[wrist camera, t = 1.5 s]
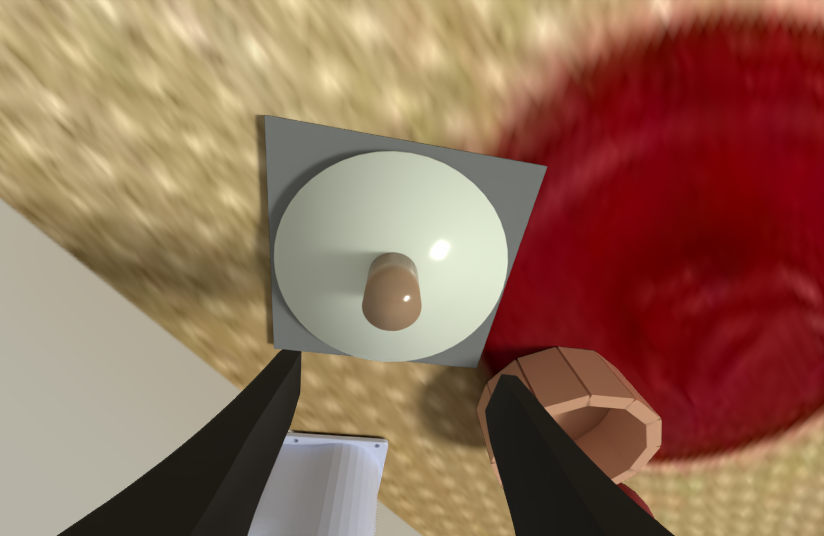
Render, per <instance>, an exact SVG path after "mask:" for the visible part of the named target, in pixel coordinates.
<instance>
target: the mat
mask: <svg viewBox="0 0 824 536" xmlns="http://www.w3.org/2000/svg"><path fill="white" fill-rule="evenodd" d="M265 140H266V164H267V189H268V213H269V238H270V262H271V286H272V311H273V335H274V349H286V350H295V351H305V352H315V353H325V354H335V355H346V356H352V355H349V354H347V353H344V352H341V351H339V350H337V349H335V348H333V347H331V346H329V345H328V344H326V343H324V342H323V341H321V340H320V339H318V338H317V337H316V336H314V335H313V334H312V333H311V332H309V331H308V330H307V329H306V328H305V327H304V326H303V325H302V324H301V323H300V322H299V320H298V319H297V318H296V317H295V315H294V314H293V313H292V311H291V310H290V308H289V306H288V305H287V303H286V301H285V300H284V297H283V295H282V293H281V290H280V288H279V285H278V281H277V277H276V273H275V265H274V245H275V240H276V234H277V230H278V227H279V224H280V222H281V219H282V216H283V214H284V213H285V211H286V209H287V207H288V205H289V204H290V202H291V201H292V200H293V198H294V197H295V196H296V194H297V193H298V192H299V190H300V189H302V188H303V187H304V186H305V185H306V184H307V183H308V182H309V181H310V180H311V179H312V178H314V177H315V176H316V175H318V174H319V173H321V172H322V171H324V170H325V169H327V168H328V167H330V166H332V165H334V164H336V163H338V162H340V161H342V160H344V159H347V158H350V157H353V156H356V155H359V154H364V153H369V152H375V151H404V152H412V153H416V154H420V155H424V156H428V157H431V158H433V159H436V160H438V161H441V162H443V163H445V164H447V165H449V166H450V167H452V168H454V169H455V170H457V171H459V172H460V173H461V174H462V175H464V176H465V177H466V178H468V179H469V180H470V181H471V182H473V183H474V184H475V185H476V186H477V187H478V189H479V190H480V191H481V192H482V193H483V194H484V195H485V196H486V198H487V199H488V200H489V202H490V203H491V205H492V206H493V207H494V209H495V211H496V213H497V215H498V217H499V219H500V221H501V224H502V227H503V230H504V233H505V237H506V243H507V249H508V265H507V273H506V279H505V282H504V286H503V289H502V292H501V294H500V296H499V299H498V301H497V303H496V305H495V306H494V308H493V310H492V311H491V313H490V314H489V315H488V317H487V318H486V319H485V321H484V322H483V323H482V324H481V325H480V326H479V327H478V328H477V329H476V330H475V331H474V332H473V333H472V334H470V335H469V336H468V337H467V338H465V339H464V340H462V341H461V342H459V343H458V344H456V345H455V346H453V347H451V348H449V349H447V350H445V351H443V352H440V353H437V354H435V355H432V356H429V357H425V358H421V359H417V360H410V361H407V362H417V363H427V364H438V365H448V366H458V367H468V368H477V365H478V362H479V359H480V356H481V354H482V351H483V348H484V345H485V342H486V339H487V336H488V334H489V331H490V328H491V325H492V322H493V319H494V316H495V314H496V311H497V308H498V305H499V302H500V299H501V297H502V294H503V291H504V288H505V285H506V282H507V279H508V277H509V274H510V271H511V268H512V265H513V262H514V260H515V257H516V254H517V251H518V248H519V245H520V242H521V240H522V237H523V234H524V231H525V228H526V225H527V223H528V220H529V217H530V214H531V211H532V208H533V205H534V203H535V200H536V197H537V194H538V191H539V188H540V186H541V183H542V180H543V177H544V174H545V171H546V168H547V166H543V165H538V164H532V163H527V162H521V161H516V160H510V159H505V158H500V157H494V156H489V155H483V154H478V153H472V152H467V151H461V150H456V149H450V148H445V147H439V146H434V145H428V144H423V143H417V142H412V141H406V140H401V139H395V138H390V137H384V136H379V135H373V134H368V133H363V132H357V131H352V130H346V129H341V128H335V127H330V126H324V125H319V124H313V123H308V122H302V121H297V120H291V119H286V118H280V117H275V116H269V115H265Z"/></svg>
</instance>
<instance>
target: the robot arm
mask: <svg viewBox="0 0 824 536" xmlns="http://www.w3.org/2000/svg"><path fill="white" fill-rule="evenodd" d="M300 384H301V351H295V350H286V349H283V350H281V351H279V353H278V354H277V355H276V356H275V357H274V358H273V359H272V361H271V362H270V363H269V364H268V365H267V366H266V367H265V368H264V369H263V370H262V371H261V373H260V374H259V375H258V376H257V377H256V378H255V379H254V380H253V381H252V382H251V383H250V384H249V385H248V386H247V387H246V388H245V389H244V390H243V391H242V392H241V393H240V394H239V395H238V396H237V397H236V398H235V399H234V400H233V401H232V402H231V403H229V404H228V405H227V406H226V407H225V408H224V409H223V410H222V411H221V412H220V413H219V414H217V415H216V416H215V418H213V419H212V420H211V421H210V422H209V423H208V424H206V425H205V426H204V427H203V428H202V429H201V430H200V431H198V432H197V433H196V434H195V435H194V436H193V437H191V438H190V439H189V440H188V441H186V442H185V443H184V444H183V445H182V446H180V447H179V448H178V449H177V450H176V451H174V452H173V453H172V454H170V455H169V456H168V457H167V458H165V459H164V460H163V461H162V462H160V463H159V464H158V465H156V466H155V467H154V468H152V469H151V470H150V471H148V472H147V473H146V474H144V475H143V476H142V477H140V478H139V479H138V480H137V481H135V482H134V483H132V484H131V485H130V486H128V487H127V488H125V489H124V490H123V491H121V492H120V493H119V494H117V495H116V496H114V497H113V498H111V499H110V500H109V501H107V502H106V503H104V504H103V505H102V506H100V507H98V508H97V509H95V510H94V511H92V512H91V513H90V514H88V515H87V516H85V517H84V518H82V519H81V520H79V521H78V522H76V523H75V524H73V525H72V526H70V527H69V528H67V529H66V530H65V531H63V532H62V533H60V534H59V535H57V536H375V528H376V510H377V492H378V491H379V486H380V481H381V476H382V472H383V467H384V462H385V458H386V453H387V448H388V441H387V440H386V439H378V438H363V437H349V436H334V435H319V434H304V433H290V432H288V430H289V428H290V425H291V422H292V419H293V416H294V412H295V409H296V406H297V402H298V399H299V395H300ZM485 415H486V422H487V428H488V434H489V439H490V443H491V447H492V451H493V454H494V458H495V461H496V465H497V468H498V472H499V475H500V479H501V482H502V486H503V489H504V492H505V496H506V499H507V503H508V506H509V510H510V513H511V517H512V521H513V525H514V529H515V534H516V536H674V535H673V534H672V533H671V532H669V531H668V530H667V529H666V528H665V527H664V526H662V525H661V524H660V523H659V522H658V521H657V520H655V519H654V518H653V517H652V516H651V515H650V514H648V513H647V512H646V511H645V510H644V509H643V508H641V507H640V506H639V505H638V504H637V503H636V502H635V501H634V500H633V499H631V498H630V497H629V496H628V495H627V494H626V493H625V492H624V491H623V490H622V489H621V488H620V487H619V486H618V485H616V484H615V483H614V482H613V481H612V480H611V479H610V478H609V477H608V476H607V475H606V474H605V473H604V472H603V471H602V470H601V469H600V468H599V467H598V466H597V465H596V464H595V463H594V462H593V461H592V460H591V459H590V458H589V457H588V456H587V455H586V454H585V453H584V452H583V451H582V449H581V448H580V447H579V446H578V445H577V444H576V443H575V442H574V441H573V440H572V439H571V438H570V437H569V435H568V434H567V433H566V432H565V431H564V430H563V429H562V428H561V426H560V425H559V424H558V423H557V422H556V421H555V420H554V418H553V417H552V416H551V415H550V414H549V413H548V411H547V410H546V409H545V408H544V407H543V406H542V404H541V403H540V402H539V401H538V400H537V399H536V397H535V396H534V395H533V394H532V393H531V391H530V390H529V389H528V388H527V387H526V385H525V384H524V383H523V382H522V381H521V380H520V379H519V378H518V376H516V375H507V374H501V376H500V378H499V380H498V382H497V385H496V387H495V389H494V391H493V394H492V396H491V398H490V400H489V402H488V405H487V407H486V409H485Z"/></svg>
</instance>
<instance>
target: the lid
mask: <svg viewBox="0 0 824 536" xmlns="http://www.w3.org/2000/svg"><path fill="white" fill-rule="evenodd" d="M274 265H275V273H276V277H277V281H278V285H279V288H280V290H281V293H282V295H283V297H284V300H285V301H286V303H287V305H288V306H289V308H290V310H291V311H292V313H293V314H294V315H295V317H296V318H297V319H298V320H299V322H300V323H301V324H302V325H303V326H304V327H305V328H306V329H307V330H308V331H309V332H311V333H312V334H313V335H314V336H316V337H317V338H318V339H320V340H321V341H323V342H324V343H326V344H328V345H329V346H331V347H333V348H335V349H337V350H339V351H341V352H344V353H347V354H349V355H352V356H355V357H359V358H363V359H367V360H374V361H384V362H400V361H410V360H417V359H421V358H425V357H429V356H432V355H435V354H437V353H440V352H443V351H445V350H447V349H449V348H451V347H453V346H455V345H456V344H458V343H459V342H461V341H462V340H464V339H465V338H467V337H468V336H469V335H470V334H472V333H473V332H474V331H475V330H476V329H477V328H478V327H479V326H480V325H481V324H482V323H483V322H484V321H485V319H486V318H487V317H488V315H489V314H490V313H491V311H492V310H493V308H494V306H495V305H496V303H497V301H498V299H499V296H500V294H501V292H502V289H503V286H504V282H505V279H506V273H507V265H508V249H507V243H506V237H505V233H504V230H503V227H502V224H501V221H500V219H499V217H498V215H497V213H496V211H495V209H494V207H493V206H492V205H491V203H490V202H489V200H488V199H487V198H486V196H485V195H484V194H483V193H482V192H481V191H480V190H479V189H478V187H477V186H476V185H475V184H474V183H473V182H471V181H470V180H469V179H468V178H466V177H465V176H464V175H462V174H461V173H460V172H459V171H457V170H455V169H454V168H452V167H450V166H449V165H447V164H445V163H443V162H441V161H438V160H436V159H433V158H431V157H428V156H424V155H420V154H416V153H412V152H404V151H375V152H369V153H364V154H359V155H356V156H353V157H350V158H347V159H344V160H342V161H340V162H338V163H336V164H334V165H332V166H330V167H328V168H327V169H325V170H324V171H322V172H321V173H319V174H318V175H316V176H315V177H314V178H312V179H311V180H310V181H309V182H308V183H307V184H306V185H305V186H304V187H303V188H302V189H300V190H299V192H298V193H297V194H296V196H295V197H294V198H293V200H292V201H291V202H290V204H289V205H288V207H287V209H286V211H285V213H284V214H283V216H282V219H281V222H280V224H279V227H278V230H277V234H276V240H275V245H274Z"/></svg>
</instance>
